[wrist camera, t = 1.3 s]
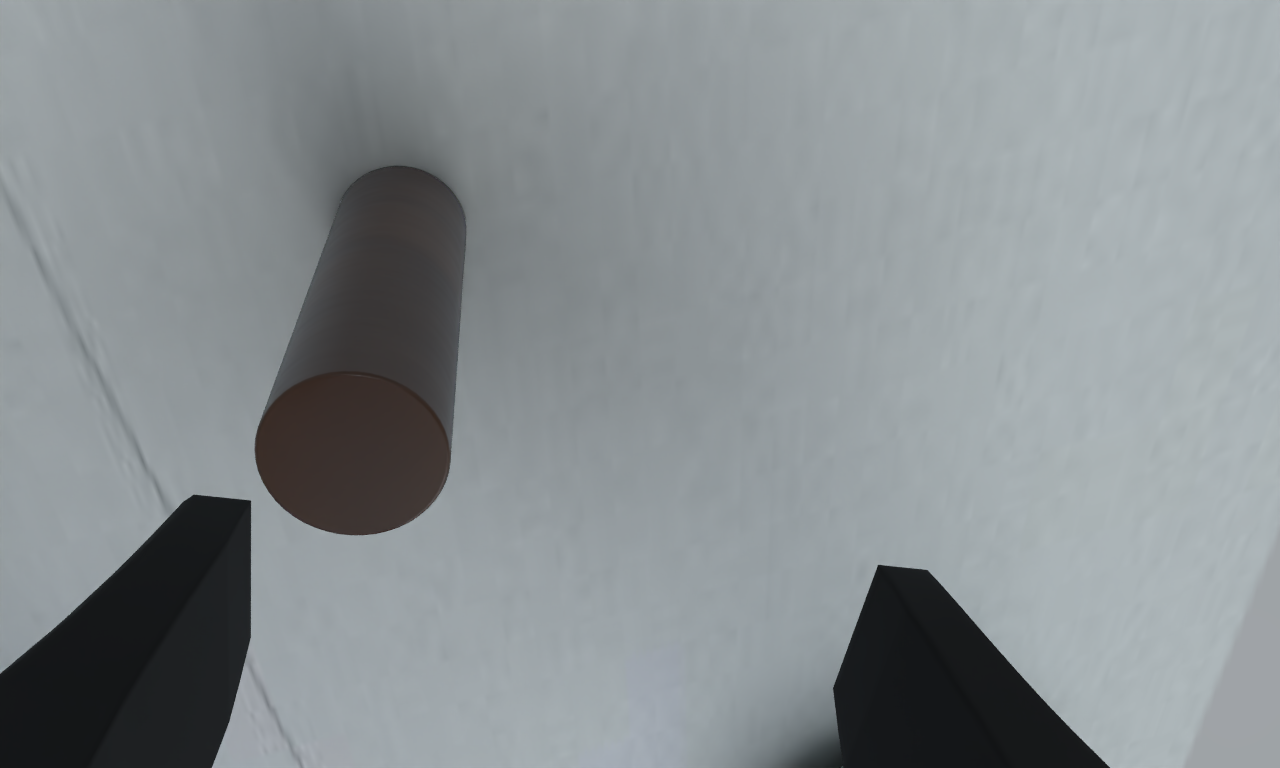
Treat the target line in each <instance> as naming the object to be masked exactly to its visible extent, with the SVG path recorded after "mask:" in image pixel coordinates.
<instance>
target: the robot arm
mask: <svg viewBox="0 0 1280 768" xmlns="http://www.w3.org/2000/svg"><path fill="white" fill-rule="evenodd" d="M250 638H251V501H250V500H240V499H230V498H220V497H211V496H201V495H193V496H191V497H190V498H188V499H187V500H185V501H184V502H183V503H182V504H181V505H180V506H179V507H178V508H177V509H176V510H175V511H174V512H173V513H172V515H171V516H170V517H169V518H168V519H167V520H166V521H165V522H164V523H163V524H162V525H161V526H160V527H159V528H158V529H157V530H156V531H155V532H154V533H153V535H152V536H151V537H150V538H149V539H148V540H147V541H146V542H145V543H144V544H143V545H142V546H141V547H140V548H139V549H138V550H137V551H136V552H135V553H134V554H133V555H132V556H131V557H130V558H129V559H128V560H127V561H126V562H125V563H124V564H123V565H122V566H121V567H120V568H119V569H118V570H117V571H116V572H115V573H114V574H113V575H112V576H111V577H109V578H108V579H107V580H106V581H105V582H104V583H103V584H102V585H101V586H100V587H99V588H98V589H97V590H96V591H94V592H93V593H92V594H91V595H90V596H89V597H88V598H87V599H86V600H85V601H84V602H83V603H82V604H81V605H79V606H78V607H77V608H76V609H75V610H74V611H73V612H72V613H71V614H70V615H69V616H68V617H67V618H65V619H64V620H63V621H62V622H61V623H60V624H59V625H58V626H56V627H55V628H54V629H53V630H52V631H51V632H49V633H48V634H47V635H46V636H45V637H43V638H42V639H41V640H40V641H39V642H37V643H36V644H35V645H34V646H33V647H32V648H30V649H29V650H28V651H27V652H26V653H24V654H23V655H22V656H21V657H20V658H18V659H17V660H16V661H15V662H14V663H12V664H11V665H10V666H9V667H8V668H6V669H5V670H4V671H3V672H2V673H1V674H0V768H212V765H213V763H214V760H215V758H216V755H217V752H218V750H219V747H220V745H221V742H222V739H223V737H224V734H225V731H226V729H227V726H228V723H229V721H230V717H231V713H232V709H233V705H234V702H235V698H236V694H237V690H238V686H239V683H240V679H241V675H242V670H243V666H244V662H245V658H246V654H247V650H248V646H249V642H250ZM833 691H834V700H835V708H836V716H837V725H838V733H839V739H840V746H841V753H842V760H843V766H844V768H1110V767H1109V766H1108V765H1107V764H1106V763H1105V762H1104V761H1103V760H1102V759H1101V758H1100V757H1099V756H1098V755H1097V754H1096V753H1095V752H1094V751H1093V750H1092V749H1090V748H1089V747H1088V746H1087V745H1086V744H1085V743H1084V742H1083V741H1082V740H1081V739H1080V738H1079V737H1078V736H1077V735H1076V734H1075V733H1074V732H1073V731H1072V730H1071V729H1070V728H1069V727H1068V725H1067V724H1066V723H1065V722H1064V721H1063V720H1062V719H1061V718H1060V717H1059V716H1058V715H1057V714H1056V713H1055V712H1054V711H1053V710H1052V709H1051V708H1050V707H1049V706H1048V705H1047V703H1046V702H1045V701H1044V700H1043V699H1042V698H1041V697H1040V696H1039V695H1038V694H1037V693H1036V692H1035V691H1034V689H1033V688H1032V687H1031V686H1030V685H1029V684H1028V683H1027V682H1026V681H1025V680H1024V678H1023V677H1022V676H1021V675H1020V674H1019V673H1018V672H1017V671H1016V670H1015V668H1014V667H1013V666H1012V665H1011V664H1010V663H1009V662H1008V661H1007V659H1006V658H1005V657H1004V656H1003V655H1002V654H1001V653H1000V652H999V650H998V649H997V648H996V647H995V646H994V645H993V644H992V642H991V641H990V640H989V639H988V638H987V637H986V636H985V634H984V633H983V632H982V631H981V630H980V629H979V628H978V626H977V625H976V624H975V623H974V622H973V621H972V619H971V618H970V617H969V616H968V615H967V614H966V613H965V611H964V610H963V609H962V608H961V607H960V606H959V605H958V603H957V602H956V601H955V600H954V599H953V598H952V597H951V595H950V594H949V593H948V592H947V591H946V590H945V589H944V588H943V586H942V585H941V584H940V583H939V582H938V581H937V580H936V579H935V578H934V577H933V576H932V575H931V573H930V572H929V571H928V570H922V569H912V568H902V567H892V566H883V565H878V567H877V570H876V572H875V575H874V578H873V581H872V583H871V586H870V589H869V591H868V594H867V597H866V600H865V602H864V605H863V608H862V611H861V613H860V616H859V619H858V622H857V624H856V627H855V630H854V632H853V635H852V638H851V641H850V643H849V646H848V649H847V652H846V654H845V657H844V660H843V663H842V665H841V668H840V671H839V673H838V676H837V679H836V682H835V684H834V687H833Z"/></svg>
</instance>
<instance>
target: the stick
mask: <svg viewBox="0 0 1280 768" xmlns="http://www.w3.org/2000/svg"><path fill="white" fill-rule="evenodd" d="M465 245H466V221H465V216H464V213H463V210H462V207H461V205H460V203H459V201H458V200H457V198H456V196H455V195H454V194H453V192H452V191H451V190H450V189H449V188H448V187H447V186H446V185H445V184H444V183H443V182H441V181H440V180H439V179H437V178H436V177H434V176H432V175H431V174H428V173H426V172H424V171H421V170H418V169H415V168H409V167H398V166H395V167H386V168H381V169H378V170H375V171H372V172H370V173H368V174H366V175H364V176H362V177H361V178H360V179H358V180H357V181H356V182H355V183H354V184H353V185H352V186H351V187H350V188H349V189H348V190H347V192H346V193H345V195H344V196H343V198H342V200H341V203H340V205H339V208H338V210H337V213H336V216H335V218H334V221H333V224H332V227H331V229H330V232H329V235H328V238H327V240H326V243H325V246H324V248H323V251H322V254H321V257H320V259H319V262H318V265H317V268H316V270H315V273H314V276H313V279H312V281H311V284H310V287H309V289H308V292H307V295H306V298H305V300H304V303H303V306H302V309H301V311H300V314H299V317H298V319H297V322H296V325H295V328H294V330H293V333H292V336H291V339H290V341H289V344H288V347H287V350H286V352H285V355H284V358H283V360H282V363H281V366H280V369H279V371H278V374H277V377H276V380H275V382H274V385H273V388H272V390H271V393H270V396H269V399H268V401H267V404H266V407H265V410H264V412H263V415H262V418H261V421H260V423H259V426H258V429H257V433H256V438H255V460H256V464H257V468H258V472H259V474H260V476H261V479H262V481H263V483H264V485H265V486H266V488H267V490H268V492H269V493H270V494H271V495H272V497H273V498H274V499H275V501H276V502H277V503H278V504H279V505H280V506H282V507H283V508H284V509H285V510H286V511H287V512H289V513H290V514H291V515H293V516H294V517H296V518H297V519H299V520H301V521H302V522H304V523H306V524H308V525H311V526H313V527H315V528H318V529H321V530H324V531H328V532H332V533H337V534H345V535H369V534H377V533H381V532H386V531H389V530H392V529H395V528H398V527H400V526H402V525H404V524H406V523H409V522H410V521H412V520H413V519H415V518H416V517H418V516H419V515H420V514H422V513H423V512H424V511H425V510H426V509H428V508H429V506H430V505H431V504H432V503H433V502H434V501H435V500H436V498H437V497H438V495H439V494H440V492H441V491H442V489H443V487H444V485H445V483H446V480H447V477H448V474H449V469H450V462H451V448H452V434H453V419H454V405H455V390H456V376H457V361H458V347H459V332H460V318H461V303H462V289H463V274H464V260H465Z"/></svg>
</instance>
